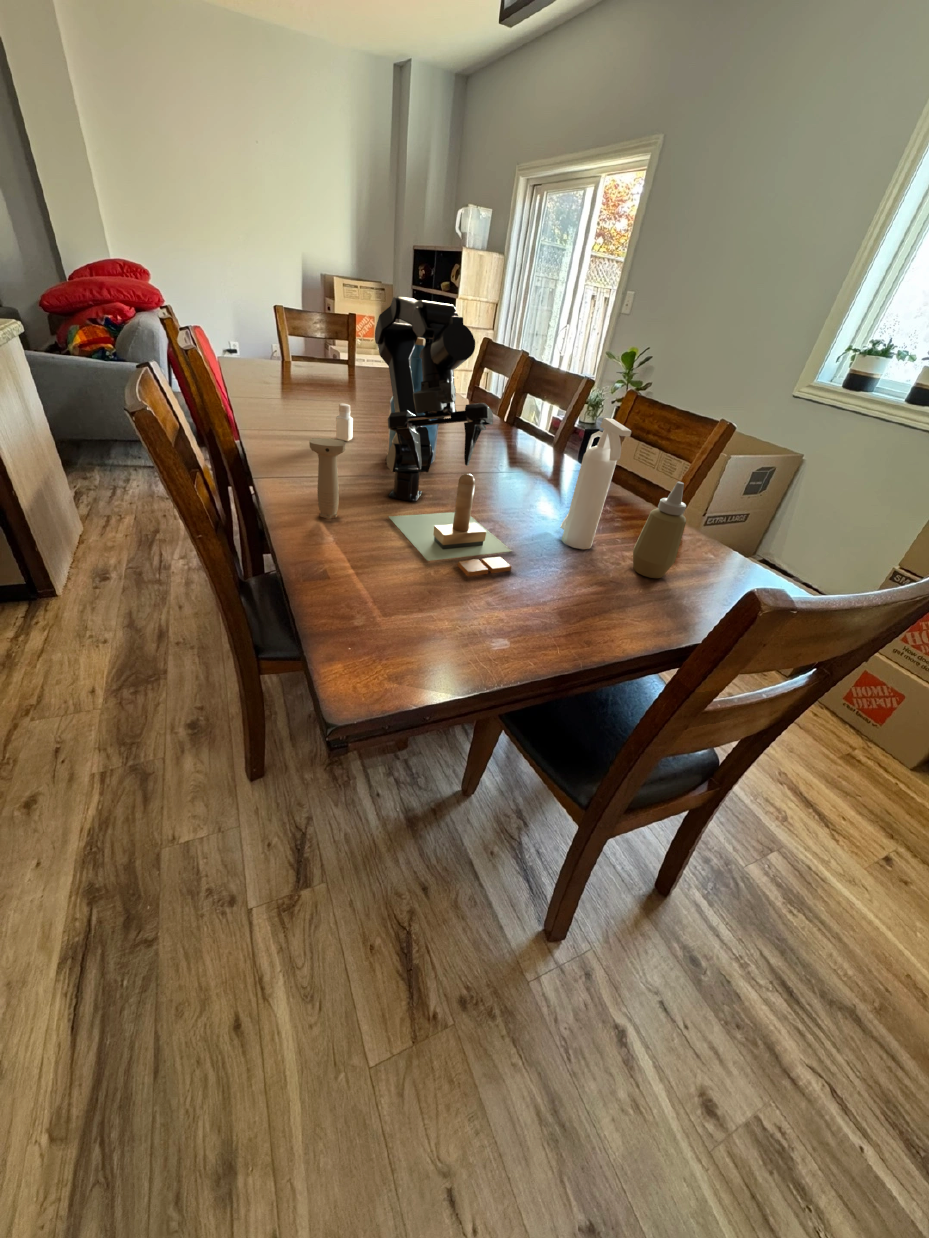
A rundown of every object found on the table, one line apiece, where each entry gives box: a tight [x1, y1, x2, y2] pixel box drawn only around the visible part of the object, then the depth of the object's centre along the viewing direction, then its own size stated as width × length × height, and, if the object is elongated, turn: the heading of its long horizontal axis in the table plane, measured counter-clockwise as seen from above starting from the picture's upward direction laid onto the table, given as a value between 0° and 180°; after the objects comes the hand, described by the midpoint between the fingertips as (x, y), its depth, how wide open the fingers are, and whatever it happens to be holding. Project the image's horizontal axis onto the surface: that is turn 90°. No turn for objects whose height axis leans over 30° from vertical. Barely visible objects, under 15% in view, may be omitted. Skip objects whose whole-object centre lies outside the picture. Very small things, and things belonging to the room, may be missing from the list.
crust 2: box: [480, 556, 512, 574], centre depth 92 cm, size 4×4×2 cm
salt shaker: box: [335, 403, 354, 442], centre depth 147 cm, size 4×4×10 cm
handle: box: [309, 437, 347, 520], centre depth 97 cm, size 5×6×15 cm
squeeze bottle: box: [632, 481, 687, 579], centre depth 96 cm, size 8×8×18 cm
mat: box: [387, 511, 513, 562], centre depth 102 cm, size 20×18×1 cm
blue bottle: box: [386, 337, 440, 465], centre depth 133 cm, size 14×13×30 cm
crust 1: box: [457, 558, 489, 577], centre depth 90 cm, size 4×4×2 cm
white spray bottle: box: [559, 417, 632, 550], centre depth 102 cm, size 7×12×25 cm, turn 16°
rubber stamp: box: [433, 473, 486, 549], centre depth 94 cm, size 9×4×14 cm, turn 117°
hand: (442, 467), depth 95 cm, fingers open, 9 cm apart
